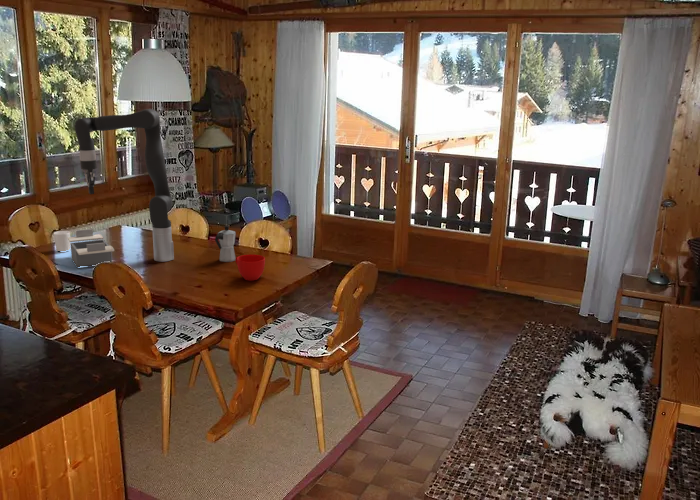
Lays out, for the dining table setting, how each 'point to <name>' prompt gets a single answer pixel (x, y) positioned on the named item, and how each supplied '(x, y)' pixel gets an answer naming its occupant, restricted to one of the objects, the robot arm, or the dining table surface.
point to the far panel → (84, 236)
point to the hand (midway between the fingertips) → (91, 193)
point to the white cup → (62, 240)
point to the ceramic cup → (250, 266)
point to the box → (89, 258)
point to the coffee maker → (226, 244)
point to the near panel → (84, 251)
